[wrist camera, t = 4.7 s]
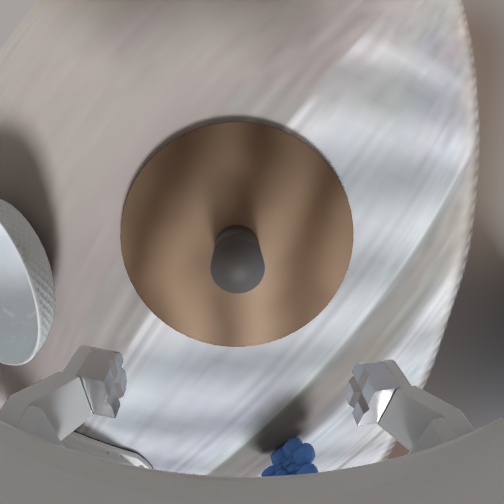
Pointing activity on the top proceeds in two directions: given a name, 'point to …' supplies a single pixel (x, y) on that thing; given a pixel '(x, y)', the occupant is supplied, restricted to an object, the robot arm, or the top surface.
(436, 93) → the top surface
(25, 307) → the cereal bowl
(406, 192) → the top surface
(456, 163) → the top surface
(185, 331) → the lid
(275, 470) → the grapes
